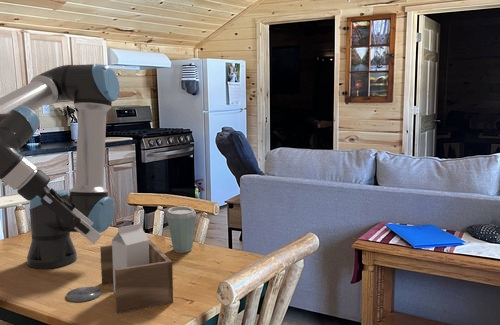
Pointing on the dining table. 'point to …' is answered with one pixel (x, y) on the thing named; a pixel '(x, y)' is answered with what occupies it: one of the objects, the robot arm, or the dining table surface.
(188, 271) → the dining table surface
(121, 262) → the milk carton
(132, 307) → the walnut cubby
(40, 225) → the robot arm
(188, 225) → the disposable coffee cup
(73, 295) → the disc
